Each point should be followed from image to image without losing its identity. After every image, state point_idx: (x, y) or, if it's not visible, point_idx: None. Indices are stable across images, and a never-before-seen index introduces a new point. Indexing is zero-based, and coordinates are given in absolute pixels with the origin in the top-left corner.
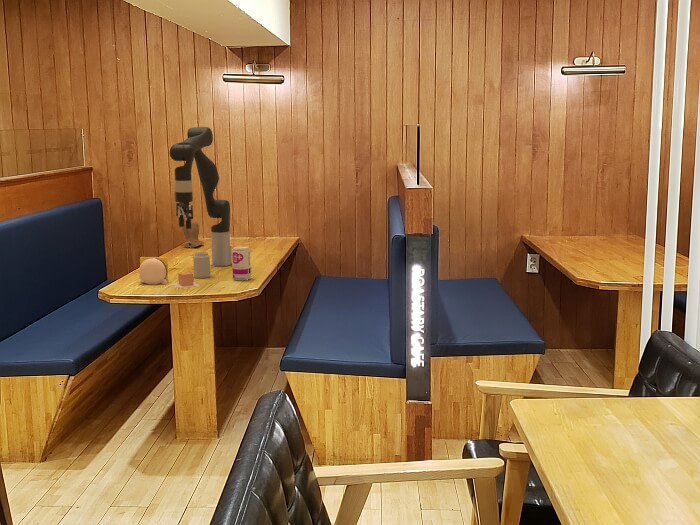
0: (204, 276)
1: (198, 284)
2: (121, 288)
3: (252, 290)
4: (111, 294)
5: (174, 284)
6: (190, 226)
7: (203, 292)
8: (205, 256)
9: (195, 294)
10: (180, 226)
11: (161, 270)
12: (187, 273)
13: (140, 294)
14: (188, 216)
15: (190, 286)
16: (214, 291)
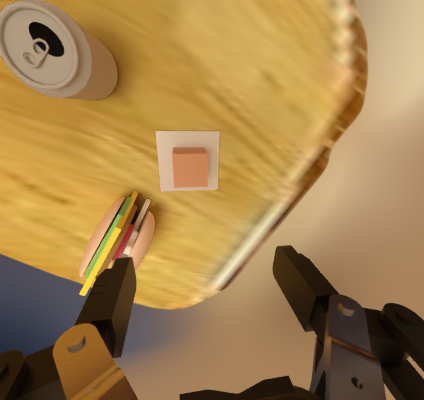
0: (116, 72)
1: (206, 133)
2: (146, 283)
3: (356, 19)
4: (194, 302)
5: (172, 187)
6: (307, 261)
7: (286, 154)
8: (83, 45)
9: (292, 177)
10: (135, 281)
11: (153, 231)
12: (192, 166)
13: (223, 265)
14: (411, 369)
15: (218, 161)
16: (294, 125)
